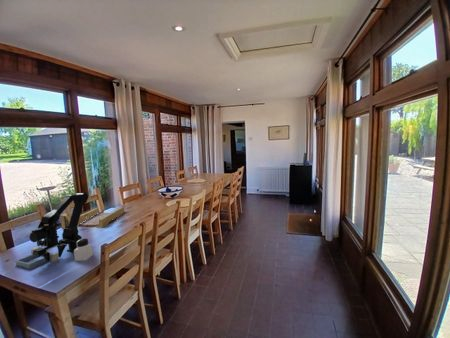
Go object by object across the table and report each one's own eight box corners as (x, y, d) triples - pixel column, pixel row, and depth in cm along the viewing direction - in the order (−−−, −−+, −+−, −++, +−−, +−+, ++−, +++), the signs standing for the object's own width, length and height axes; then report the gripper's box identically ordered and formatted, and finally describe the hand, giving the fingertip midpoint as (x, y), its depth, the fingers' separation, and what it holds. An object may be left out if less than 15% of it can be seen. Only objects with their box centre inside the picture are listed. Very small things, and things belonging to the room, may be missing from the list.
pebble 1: (41, 253, 149) (41, 247, 148) (34, 257, 145) (33, 250, 144) (37, 253, 150) (36, 246, 150) (30, 256, 146) (29, 249, 146)
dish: (54, 258, 142) (54, 253, 142) (30, 269, 129) (29, 264, 129) (41, 255, 147) (40, 250, 146) (16, 265, 134) (15, 260, 134)
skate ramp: (103, 230, 189) (101, 212, 188) (62, 231, 190) (59, 213, 188) (124, 215, 229) (123, 200, 228) (90, 217, 230) (89, 201, 228)
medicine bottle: (93, 255, 144) (91, 237, 143) (86, 260, 137) (84, 241, 136) (81, 255, 144) (79, 237, 143) (74, 261, 137) (72, 242, 136)
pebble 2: (60, 260, 139) (59, 253, 139) (53, 263, 135) (52, 256, 134) (56, 259, 141) (55, 252, 140) (48, 262, 136) (47, 255, 136)
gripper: (58, 228, 148) (61, 251, 149) (25, 240, 130) (28, 265, 132) (70, 230, 144) (72, 253, 145) (37, 242, 126) (40, 268, 128)
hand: (54, 259), depth 138 cm, fingers open, 6 cm apart
